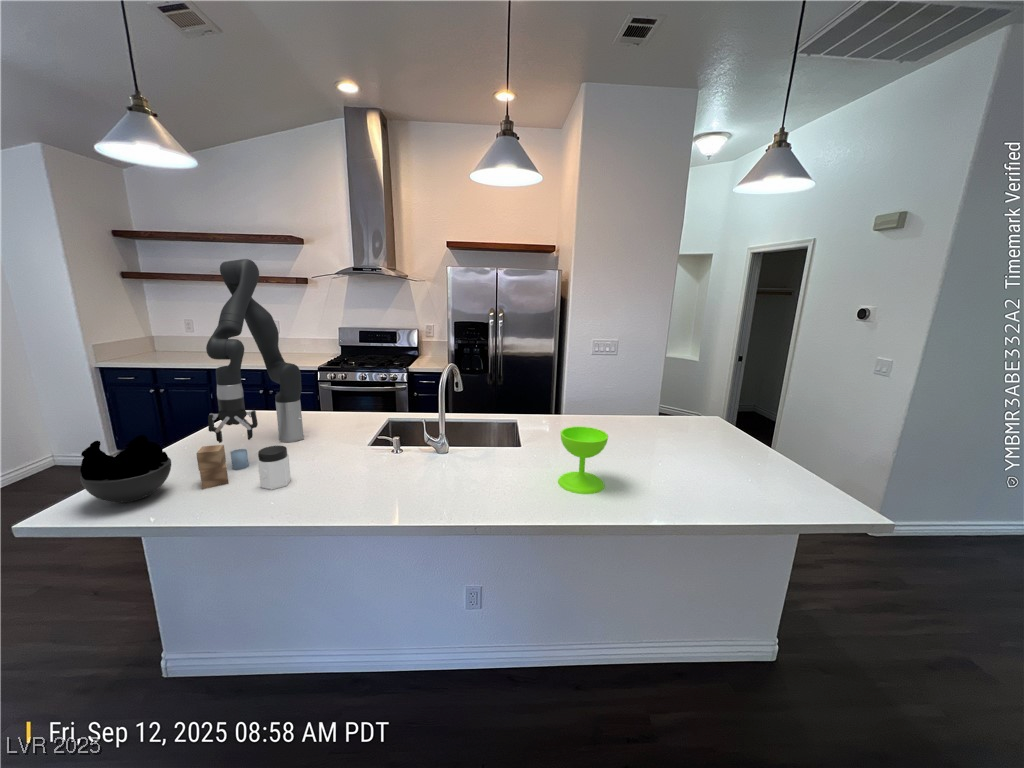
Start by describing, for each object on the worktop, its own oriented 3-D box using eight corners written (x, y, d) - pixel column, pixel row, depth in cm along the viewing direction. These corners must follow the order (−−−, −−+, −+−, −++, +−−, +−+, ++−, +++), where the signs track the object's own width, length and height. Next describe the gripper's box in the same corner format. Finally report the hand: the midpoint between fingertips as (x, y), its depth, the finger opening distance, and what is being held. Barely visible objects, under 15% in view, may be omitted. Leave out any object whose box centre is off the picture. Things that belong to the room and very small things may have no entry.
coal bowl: (192, 487, 133) (183, 432, 129) (123, 520, 113) (110, 456, 109) (142, 480, 137) (132, 426, 132) (67, 510, 117) (53, 448, 113)
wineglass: (567, 470, 154) (569, 423, 150) (609, 479, 146) (613, 431, 143) (550, 486, 140) (553, 436, 136) (596, 498, 133) (600, 445, 129)
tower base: (227, 476, 141) (225, 460, 140) (228, 484, 136) (226, 467, 135) (201, 481, 137) (199, 464, 136) (202, 489, 132) (199, 472, 131)
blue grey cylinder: (249, 463, 152) (247, 448, 151) (248, 468, 148) (246, 452, 146) (233, 465, 150) (231, 450, 149) (231, 470, 146) (229, 454, 144)
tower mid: (225, 461, 139) (223, 444, 138) (221, 468, 134) (218, 450, 132) (204, 463, 137) (202, 446, 136) (198, 470, 131) (196, 453, 130)
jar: (254, 487, 134) (250, 452, 132) (275, 476, 142) (272, 443, 139) (276, 491, 132) (272, 456, 129) (296, 480, 139) (293, 447, 137)
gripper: (255, 392, 150) (259, 435, 153) (207, 395, 143) (213, 439, 147) (253, 397, 143) (257, 441, 146) (203, 400, 137) (208, 446, 140)
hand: (235, 440), depth 146 cm, fingers open, 8 cm apart
